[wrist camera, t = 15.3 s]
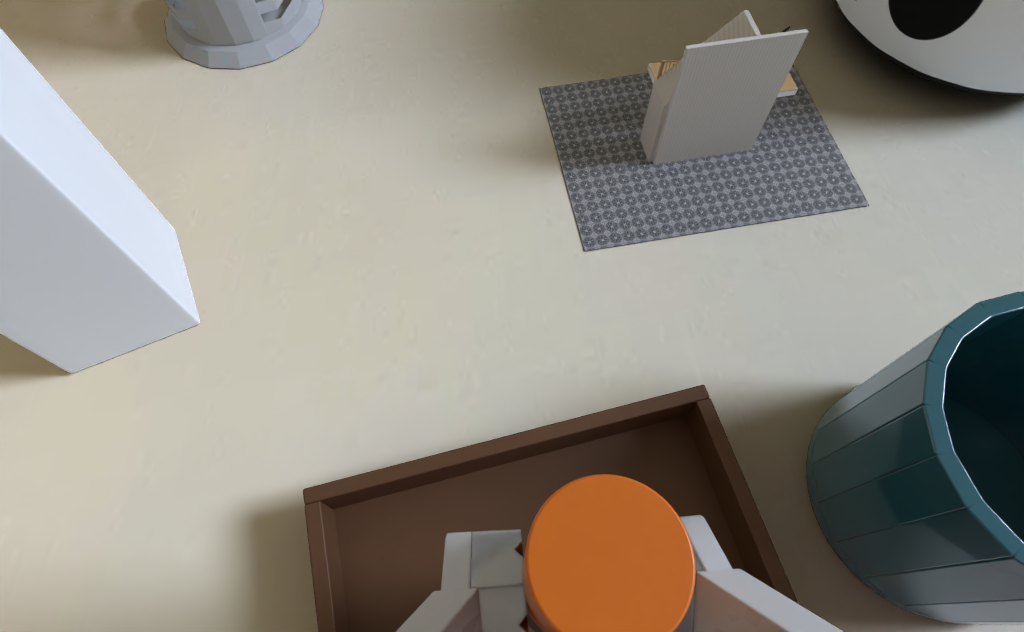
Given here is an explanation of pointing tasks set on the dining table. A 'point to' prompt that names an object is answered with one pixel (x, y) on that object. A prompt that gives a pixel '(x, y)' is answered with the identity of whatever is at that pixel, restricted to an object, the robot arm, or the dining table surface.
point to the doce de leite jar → (947, 39)
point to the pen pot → (934, 472)
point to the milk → (77, 236)
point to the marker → (607, 560)
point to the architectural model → (698, 142)
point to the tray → (520, 503)
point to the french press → (239, 29)
